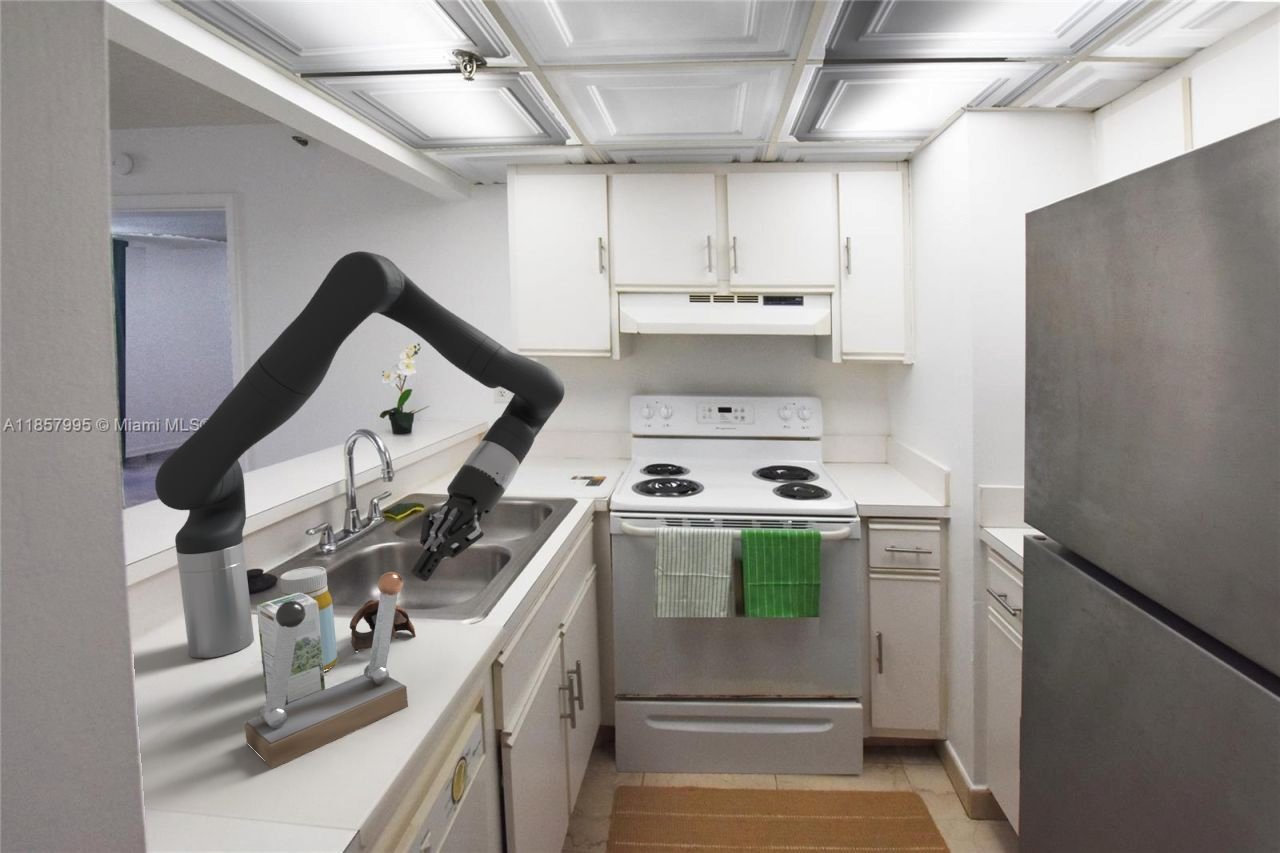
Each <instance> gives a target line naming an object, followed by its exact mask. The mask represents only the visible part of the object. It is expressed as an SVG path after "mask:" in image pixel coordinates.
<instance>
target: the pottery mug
mask: <svg viewBox="0 0 1280 853" xmlns="http://www.w3.org/2000/svg"><path fill="white" fill-rule="evenodd" d="M379 600H380V599H378V600H374V599H370V600H368V601H367V602H364V605H363V606H362V607H361V608H360V609H359V610H357V611H356V613H355V614H354V615H353V617H352V618H351V620H350V623H349V629H350V630H351V632H350V634H351V636H350V639H351V640H350V643H351V645H352V648H353V650H354V652H355V651H358V650H359V651H361V650H365V649H372V644H373V638H374V632H375V625H376V619H377V613H378V607H379ZM409 617H410V616H409V614H408V613H407V610H406V609H405V608H403V607H402V606H400V605H397V604H396V608H395V614H394V620H393V627H392V633H391V638H398V634H397V633H396V632H401V631H406V632H410V634H411V635H412V637H413V638H416V632H415V631H416V630H415V627H414V625H413V622H412V621H411V620H410V618H409ZM362 619H363V620H364V621H365V622H366V623H367V624H368V626H369V628H370V631H366V632H365V631H364V632H360V631H358V630H357V625H358V624H359V622H361V620H362Z"/></svg>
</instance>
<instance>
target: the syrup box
mask: <svg viewBox="0 0 1280 853" xmlns="http://www.w3.org/2000/svg"><path fill="white" fill-rule="evenodd" d="M288 601H297V602H299V603H301V604H302V605H303V606H304V608H305V618H304V620H303V621H302V622H301V623H300V624H299V626H298V632H297V638H296V643H295V649H294V655H293V661H292V667H291V673H290V679H289V685H288V690H287V696H286V702H285V705H288V704H290V703H293V702H295V701H298V700H300V699H303V698H305V697H308V696H310V695H313V694H315V693H318V692H320V691H323V690H325V689H326V684H325V672H324V668H323V657H322V646H321V634H320V622H319V610H318V602H317V601H316V600H314V599H313V598H311V597H309V596H307V595H305V594H303V593H295V594H292V595H289V596H285V597H280V598H275V599H272V600H269V601H265V602H263V603H259V604H257V605H256V612H257V613H256V615H257V616H256V617H257V625H258V632H259V633H258V634H259V642H260V643H259V644H260V653H261V663H262V674H263V681H264V692H265V693H264V694H265V700H266V699H267V693H268V687H269V682H270V676H271V670H272V664H273V658H274V653H275V647H276V641H277V635H278V630H279V624H278V622H277V620H276V612H277V610H278V608H279V607H280V606H281V605H282V604H284V603H285V602H288Z"/></svg>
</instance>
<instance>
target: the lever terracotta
mask: <svg viewBox="0 0 1280 853" xmlns="http://www.w3.org/2000/svg"><path fill="white" fill-rule="evenodd" d="M377 586H378V590H379V592H380V595H379V599H378V600H379V607H378V613H377V619H376V625H375V632H374V638H373V644H372V648H371V652H370V656H369V657H370V659H369V663H368V664H367V665H366V666H365V668H364V670H363V674H364V675H365V677H366V678H368V679H370V680H371V681H373V682H375V683H376V684H379V685H381V684H384V683H385V682H386V681H387V680H388V677H390V672H389V671H388V670H387V664H388V658H389V651H390V646H391V645H390V644H391V638H392V637H391V633H392V627H393V620H394V614H395V608H396V605H397V600H398V594H399V593H400V592H401V591H402V589H403V587H404V579H403V578H402V576H401V574H399V573H398V572H394V571H389V572H386V573H384V574H382V575H381V576H380V578H379V580H378V583H377Z"/></svg>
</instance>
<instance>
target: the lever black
mask: <svg viewBox="0 0 1280 853" xmlns="http://www.w3.org/2000/svg"><path fill="white" fill-rule="evenodd" d="M304 618H305V608H304V606H303V605H302V604H301V603H299V602H297V601H288V602H285V603H284V604H282V605H281V606H280V607H279V608H278V610H277V612H276V620H277V622H278V624H279V630H278V635H277V641H276V647H275V653H274V658H273V664H272V670H271V676H270V682H269V687H268V693H267V699H266V698H265V704H264V705H263V706H262V707H261V709H260V710H259V716H260V717H261V718H262V719H263V720H264V721H265V722H266V723H267V724H268V725H270V726H271V727H272V728H279V727H281V726H282V725H284V723H285V722H286V720H287V714H286V712H285V711H284V708H285V702H286V696H287V690H288V685H289V679H290V673H291V667H292V661H293V655H294V649H295V643H296V638H297V632H298V626H299V624H300V623H301V622H302V621H303V620H304Z"/></svg>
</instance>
